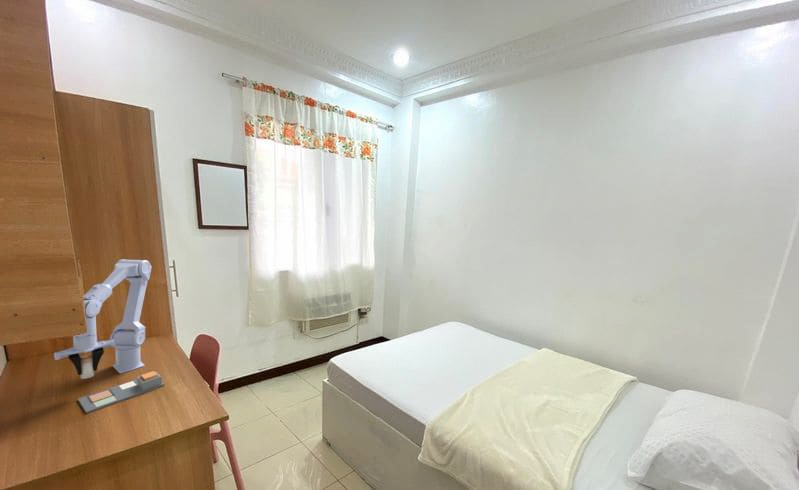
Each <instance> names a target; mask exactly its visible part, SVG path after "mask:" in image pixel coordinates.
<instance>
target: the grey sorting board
mask: <svg viewBox="0 0 799 490" xmlns="http://www.w3.org/2000/svg"><path fill="white" fill-rule="evenodd" d="M154 372H155V373H156V374H157V377H156V378H153V379H150V380H147V381H143V380H142V379H141V375H140V376H137V377H136V379H133V380H131V381H128V382H125V383H122V384H119V385H115V386H112V387H109V388H106V389H103V390H100V391H96V392H94V393H91V394H87V395H85V396H81V397H78V398H77V401H78V403H79V405H80V406H81V407H82V409H83V410H84V412H85V414H89V413H92V412H95V411H97V410H101V409H103V408H107V407H108V406H111V405H114V404H118V403H119V402H123V401H125V400H129V399H131V398H133V397H136V396H139V395H142V394H145V393H147V392H150V391H153V390H155V389H158V388H162V387H164V386H165V383H164V382H163V381H162V376H161V375H160V374H159V373H158V372H157V371H154Z"/></svg>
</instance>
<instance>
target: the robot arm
mask: <svg viewBox="0 0 799 490" xmlns="http://www.w3.org/2000/svg"><path fill="white" fill-rule="evenodd" d="M152 268H153V267H152V265H151V263H150V261H148V260H146V259H143V260H142V259H126V258H123V259H119V260H118V261H117V262H116V263H115V264H114V270H113V271H112V272H111V273H110V274H109V276H107V278H106V279H105V280H104V281H102V283H96V284H94V285H92V287H91V288H90V289H89V290H88V291H87V292H86V293H85V294H84V295H82V297H83V298H84V307H85V316H86V324H87V332H86V333H84V334H80V335H75V336H73V335H72V340H73V341H72V343H73V346H72V347H70V348H66V349H64V350H60V351H57V352H54V353H53V355H54V360H55V361H58V360H61V359H63V358H68V360H69V361H70V362H71V363H72V364H73V365H74V367H75V370H76V374H77V375H78V376H81V375H82V372H81V358H80V357H81V356H80V354H83V353H84V354H85V353H91V355H93V369H94V372H96V371H98V367H99V363H100V361H101V358H102V356H103V355H104V354H105V348H113V347H114V349H115V351H114V352H115V364H113V365H112V368H114V370H116V371H117V372H118V374H120V375H121V374H123V373H126V372H130V371H134V370H136V369H140V368H143V367H145V366H146V365H145V364H144V362H143V361H142V359H141V345H142V344H143V343H144V341H145V339H146V326H145V325H143V323H141V322H140V319H141V315H142V309H143V304H144V300H145V296H146V295H145V294H146V289H147V286H148V281H149V280H150V278H151V277H150V276H151V273H152ZM123 280H127V281H128V282H129V283H130V284H129V290H128V293H127V299H126V304H125V307H124V308H125V309H124V311H123V312H124V313H123V318H122V322H119V323H118V324H117V325H116V326H115V327H114V328H113V332H112V333H111V335H110V338H109V339H108V340H102V341H98V335H97V315H98V314H99V313H100V311H101V308H102V306H103V303H104V302H105V301H106V300H107V299H109V298H110V296H112V294H113V289H114V288H115V287H116V286H118V284H120V283H121V282H122V281H123Z"/></svg>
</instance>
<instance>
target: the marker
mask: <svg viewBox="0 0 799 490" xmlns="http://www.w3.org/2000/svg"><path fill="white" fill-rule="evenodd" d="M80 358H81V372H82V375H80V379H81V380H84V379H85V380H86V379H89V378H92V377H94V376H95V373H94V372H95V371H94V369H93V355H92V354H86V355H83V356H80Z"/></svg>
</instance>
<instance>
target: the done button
mask: <svg viewBox="0 0 799 490" xmlns="http://www.w3.org/2000/svg"><path fill="white" fill-rule="evenodd" d="M140 376H141V379H142V380H143V381H147V380H150V379H153V378H156V377H157V374H156V373H155V371H153V370H152V371H150V372H146V373H144V374H141V375H140Z"/></svg>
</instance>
